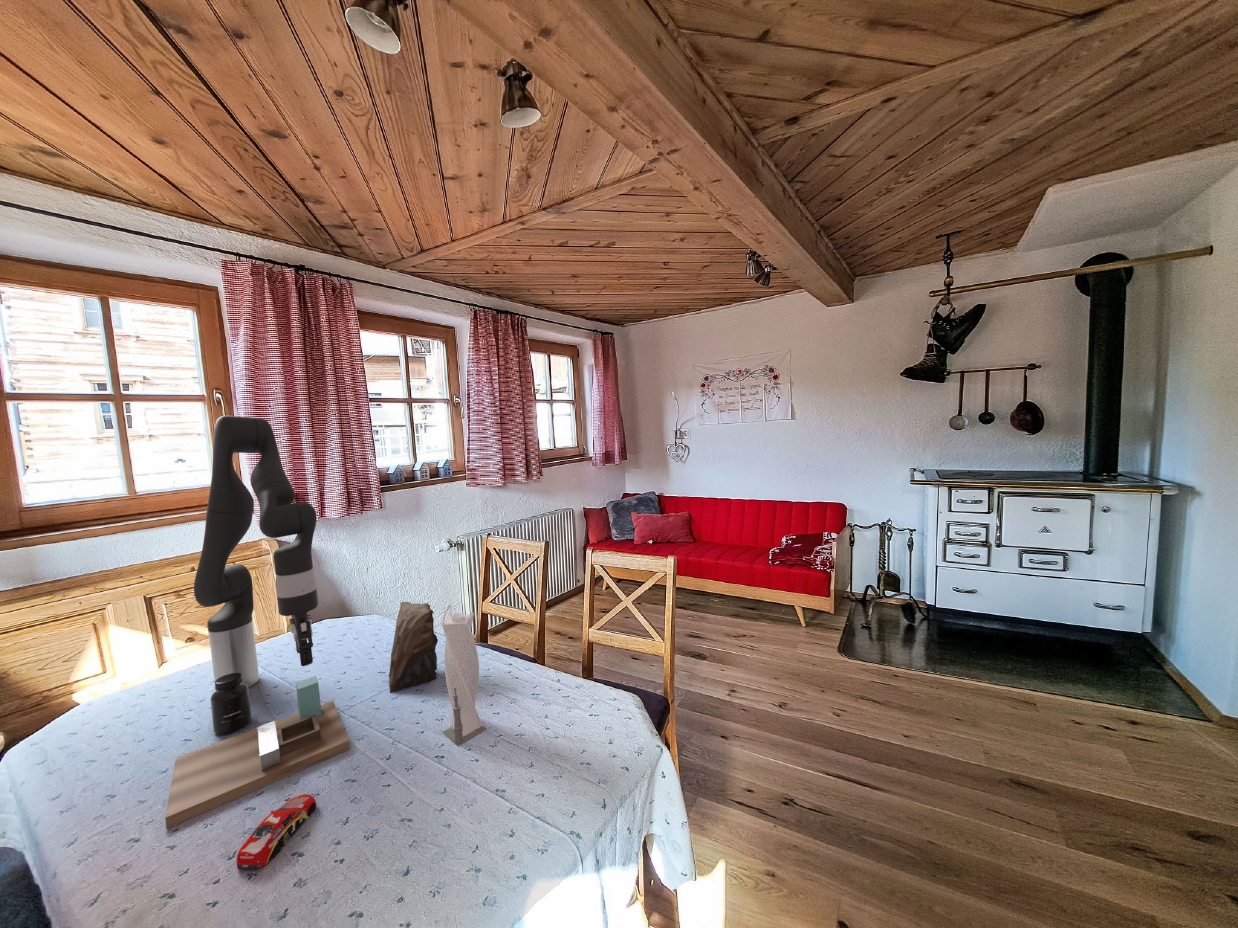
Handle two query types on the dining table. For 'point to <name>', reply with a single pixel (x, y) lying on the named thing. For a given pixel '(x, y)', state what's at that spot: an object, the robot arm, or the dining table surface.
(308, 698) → the peg
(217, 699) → the supplement bottle
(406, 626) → the brown rock
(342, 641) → the dining table surface
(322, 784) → the dining table surface
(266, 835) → the race car
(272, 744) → the bar
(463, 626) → the skyscraper
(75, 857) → the dining table surface
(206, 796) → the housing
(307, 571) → the robot arm
